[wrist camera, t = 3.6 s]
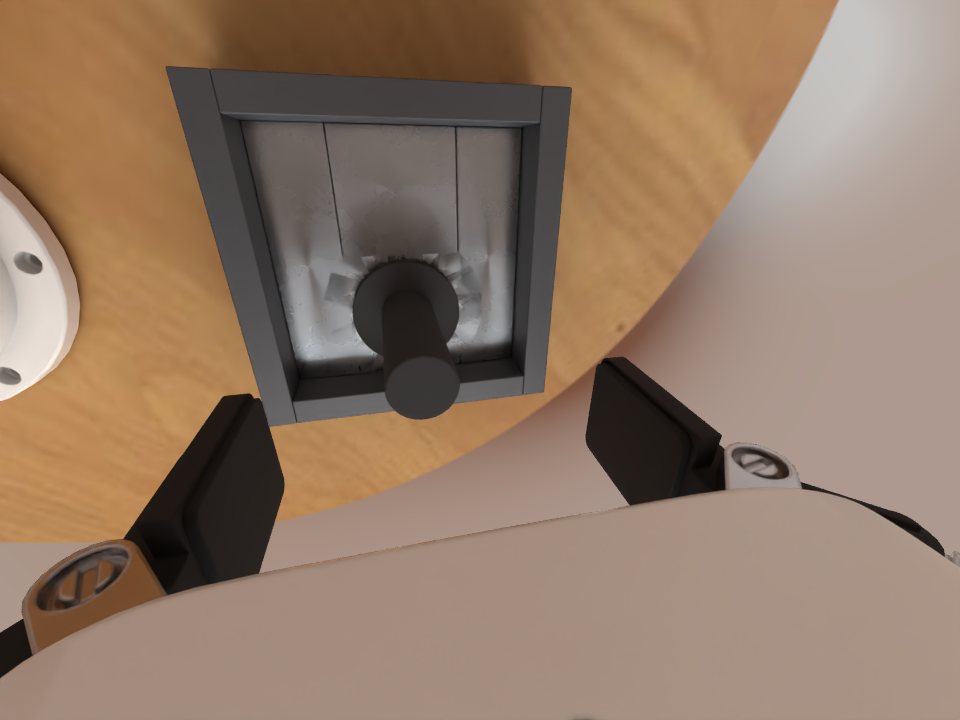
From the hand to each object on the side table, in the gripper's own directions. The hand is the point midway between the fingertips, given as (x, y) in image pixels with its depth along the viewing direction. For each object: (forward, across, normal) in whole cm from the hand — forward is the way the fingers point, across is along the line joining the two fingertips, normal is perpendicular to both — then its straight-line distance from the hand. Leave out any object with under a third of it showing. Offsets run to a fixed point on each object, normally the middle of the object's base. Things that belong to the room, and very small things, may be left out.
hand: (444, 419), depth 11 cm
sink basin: (+11, +1, -2) cm, 12 cm away
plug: (+11, +1, 0) cm, 11 cm away
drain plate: (+11, +1, -2) cm, 12 cm away
